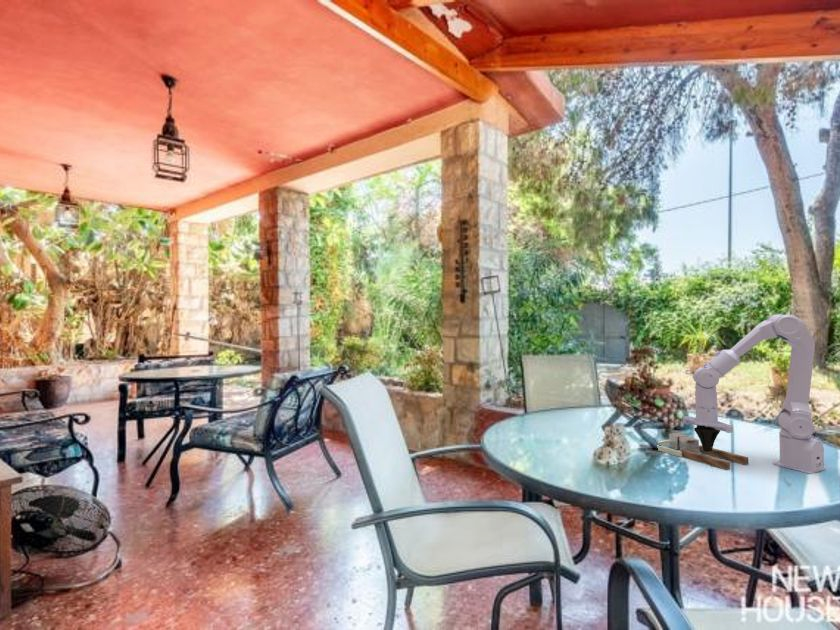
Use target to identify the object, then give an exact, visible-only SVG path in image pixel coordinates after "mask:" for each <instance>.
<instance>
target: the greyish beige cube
mask: <svg viewBox="0 0 840 630" xmlns="http://www.w3.org/2000/svg"><path fill="white" fill-rule="evenodd" d="M668 436H669V439H668V440H669V442H670V445H669V448H670V449H673V450H677V451H679V437H690V436H689V435H687V434H685V433H684V434H683V433H682V432H680V433H679V432H678V433H677V432H676V433H669V435H668Z"/></svg>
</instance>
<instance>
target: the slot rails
mask: <svg viewBox="0 0 840 630" xmlns="http://www.w3.org/2000/svg"><path fill="white" fill-rule="evenodd" d="M680 452H682V457H681V458H685V459H689V460H691V461H695V462H697V463H698V462H699V463H701V464H705V465H709V466H712V467H715V468H718V469H723V470H725V471H729V470H730V469H731V462H732V463H733V462H734V463H736V464H739V465H744V466H748V465H749V464H750V462H749V461H750V460H749V457H747V456H744V455H740V454H736V453H732V452H730V451H726V450H721V449H719V448H718V449H717V448H714V447H713V448H712V451H710V452H706V451H704V450H703V447H702V445H700V446H699V453H696V452H692V451H689V450H685V449H684V450H681V451H680Z"/></svg>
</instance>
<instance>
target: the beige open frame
mask: <svg viewBox="0 0 840 630" xmlns="http://www.w3.org/2000/svg"><path fill="white" fill-rule="evenodd" d="M657 442H658V443H659V444H661V445H664V446H659V445H657V448H658V450H657V451H659V452H663V453H665V454H669V455H673V456H676V457H679V458H683V457H682V452H681V451H679V450H678V451H677V450H675V449H673V448H671V447H666V446H670V442H669V439H666V440H660V441H657ZM699 446H701V445H700V444H699Z"/></svg>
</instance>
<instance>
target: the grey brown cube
mask: <svg viewBox="0 0 840 630" xmlns="http://www.w3.org/2000/svg"><path fill="white" fill-rule="evenodd" d="M699 440H700V439H698V438H695V437H693V436H689V437H679V450H678V451H680V452H681V450H684V449H685V450H689V451H692V452H696V453H699V454H700V452H699V445H700V442H699Z"/></svg>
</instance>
